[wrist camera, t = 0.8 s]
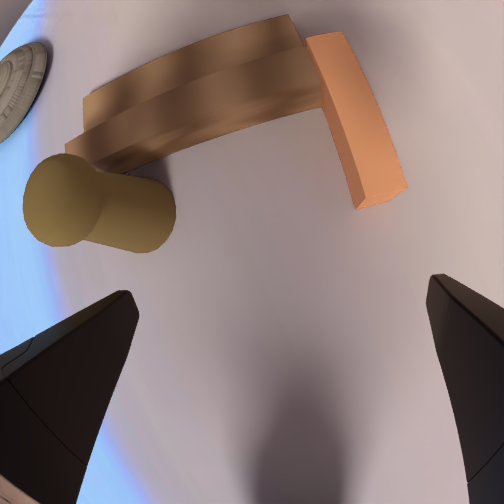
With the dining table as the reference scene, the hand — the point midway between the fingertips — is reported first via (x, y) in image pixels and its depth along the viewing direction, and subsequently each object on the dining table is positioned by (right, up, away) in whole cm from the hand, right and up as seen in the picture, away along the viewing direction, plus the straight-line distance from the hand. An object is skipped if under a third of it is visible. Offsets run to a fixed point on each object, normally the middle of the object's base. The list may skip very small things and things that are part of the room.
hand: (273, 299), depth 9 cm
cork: (-9, +4, +16) cm, 19 cm away
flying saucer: (-31, +22, +20) cm, 43 cm away
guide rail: (-4, +10, +14) cm, 18 cm away
